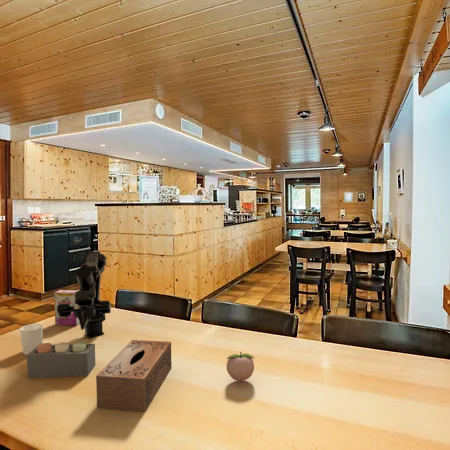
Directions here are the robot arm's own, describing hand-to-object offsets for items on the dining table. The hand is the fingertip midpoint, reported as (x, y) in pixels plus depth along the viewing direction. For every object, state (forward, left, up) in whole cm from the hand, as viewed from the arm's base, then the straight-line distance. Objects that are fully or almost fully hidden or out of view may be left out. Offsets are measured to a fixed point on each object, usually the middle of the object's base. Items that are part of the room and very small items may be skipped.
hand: (82, 329), depth 125 cm
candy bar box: (-10, -46, -13) cm, 49 cm away
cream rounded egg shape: (+8, +2, -8) cm, 11 cm away
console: (+8, +2, -13) cm, 15 cm away
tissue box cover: (-7, +29, -13) cm, 32 cm away
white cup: (+11, -24, -13) cm, 30 cm away
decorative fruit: (-33, +50, -13) cm, 61 cm away
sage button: (+3, +5, -8) cm, 10 cm away
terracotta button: (+12, -2, -8) cm, 15 cm away
